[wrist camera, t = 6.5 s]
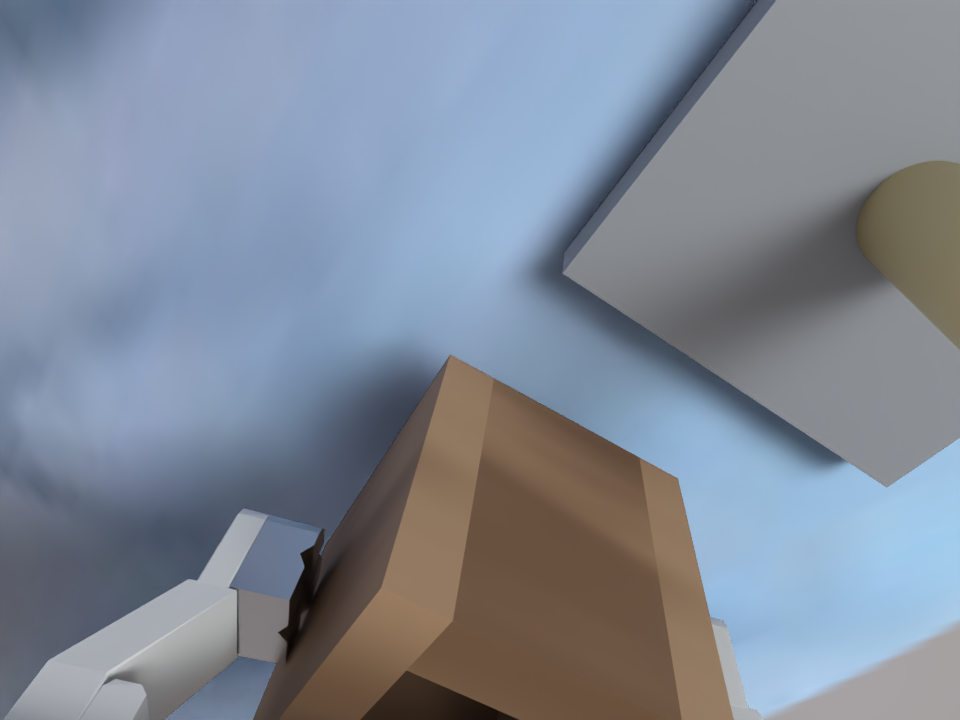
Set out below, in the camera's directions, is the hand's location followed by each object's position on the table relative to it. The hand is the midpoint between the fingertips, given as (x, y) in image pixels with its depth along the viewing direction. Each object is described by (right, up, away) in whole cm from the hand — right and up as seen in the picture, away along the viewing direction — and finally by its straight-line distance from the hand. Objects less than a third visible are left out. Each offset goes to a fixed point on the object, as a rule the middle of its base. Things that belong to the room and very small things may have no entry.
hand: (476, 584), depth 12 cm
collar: (0, +1, +1) cm, 2 cm away
